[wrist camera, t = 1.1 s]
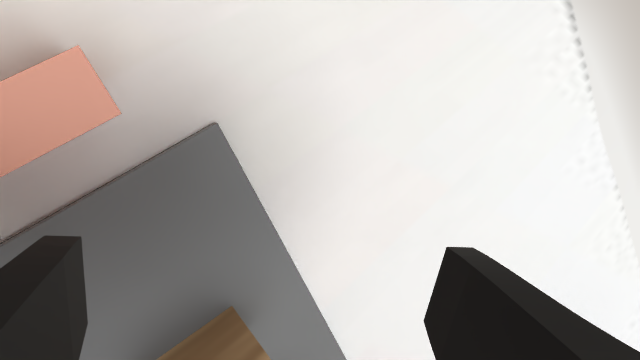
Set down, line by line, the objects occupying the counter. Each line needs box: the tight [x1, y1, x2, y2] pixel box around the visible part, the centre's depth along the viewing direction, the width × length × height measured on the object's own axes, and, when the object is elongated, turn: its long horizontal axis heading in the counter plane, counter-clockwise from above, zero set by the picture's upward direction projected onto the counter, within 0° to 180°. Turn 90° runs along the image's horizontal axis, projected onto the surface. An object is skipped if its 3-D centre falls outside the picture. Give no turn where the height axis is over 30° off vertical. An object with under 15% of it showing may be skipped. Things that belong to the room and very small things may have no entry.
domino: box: [0, 45, 122, 177], centre depth 13 cm, size 2×5×9 cm, turn 116°
